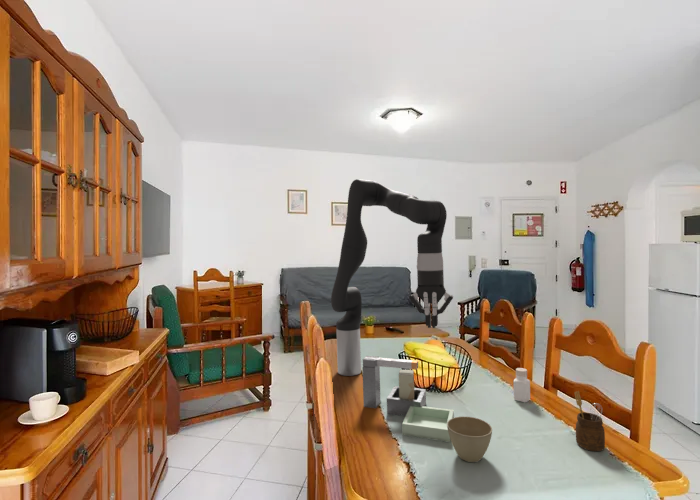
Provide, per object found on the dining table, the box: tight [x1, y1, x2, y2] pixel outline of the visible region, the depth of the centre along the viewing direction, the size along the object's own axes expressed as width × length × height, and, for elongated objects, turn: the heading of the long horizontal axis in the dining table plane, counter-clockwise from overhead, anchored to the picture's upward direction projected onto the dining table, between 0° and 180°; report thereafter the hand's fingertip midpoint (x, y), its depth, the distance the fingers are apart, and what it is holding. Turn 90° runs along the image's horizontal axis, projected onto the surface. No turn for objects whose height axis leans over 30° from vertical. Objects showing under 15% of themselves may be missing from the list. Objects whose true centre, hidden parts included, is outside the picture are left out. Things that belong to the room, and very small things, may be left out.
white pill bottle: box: [513, 367, 531, 403], centre depth 118 cm, size 4×4×10 cm
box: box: [398, 369, 415, 400], centre depth 115 cm, size 5×4×11 cm
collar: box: [386, 385, 427, 417], centre depth 115 cm, size 10×10×4 cm
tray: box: [401, 405, 455, 443], centre depth 103 cm, size 12×12×3 cm
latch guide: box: [361, 355, 381, 409], centre depth 118 cm, size 5×4×14 cm
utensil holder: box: [574, 390, 606, 452], centre depth 91 cm, size 6×6×12 cm
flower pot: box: [447, 415, 493, 463], centre depth 88 cm, size 10×10×7 cm
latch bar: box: [363, 356, 419, 371], centre depth 116 cm, size 2×16×2 cm, turn 70°
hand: (431, 327), depth 112 cm, fingers closed
